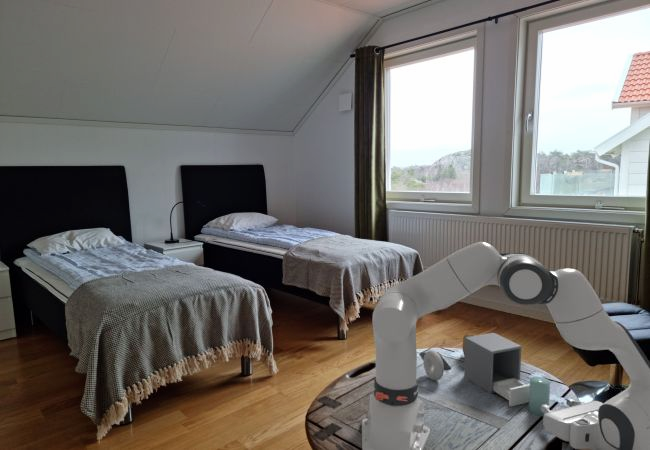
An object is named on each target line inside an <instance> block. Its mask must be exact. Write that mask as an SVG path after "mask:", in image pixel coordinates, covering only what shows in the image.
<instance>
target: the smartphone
mask: <svg viewBox="0 0 650 450" xmlns="http://www.w3.org/2000/svg"><path fill="white" fill-rule="evenodd" d="M426 352H427V351H425V352H424V351H423V352H419V355H420V357H421V358H422V361H423V360H424V356H425V354H426ZM436 352H437V353H438V354H439V355H440V357H441V358H442V361H443V365H444V371H447V370H451V369H452V367H451V365H450V364H449V363H448V362H447V361H446V360H445V359H444V357H443V356H442V355H441V354H440V353H439V351H436Z"/></svg>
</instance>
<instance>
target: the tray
mask: <svg viewBox="0 0 650 450" xmlns="http://www.w3.org/2000/svg"><path fill="white" fill-rule="evenodd" d="M529 389H530V383H528V384H526V383H524V382H523V381H522V380H520V381H519V380H517V379H516V378H510V379H506V380H501V381H496V382H492V390H494V391H495V393H496V394H498V395H499V396H501V397H503V398H504V399H506V400H507V401H508V406H509V407H515V406H519V405H522V404H527V403H528V404H529Z"/></svg>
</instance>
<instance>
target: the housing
mask: <svg viewBox="0 0 650 450" xmlns="http://www.w3.org/2000/svg"><path fill="white" fill-rule="evenodd" d="M476 335H477V336H471V337H465V356H464V370H463V371H464V375H463V376H464V377H465V378H466V379H468V380H469V381H471V382H473V383H474V384H475V385H476V386H478V387H480V388H481V389H483V390H484V391H485V392H487V393H489V394H494V393H496V392H495V391H494V390H492V382H496V381H501V380H506V379H510V378H516V379H517V380H519V381H521V368H522V367H521V366H522V364H521V363H522V345H520V344H518V343H516V342H515V341H514V342H513V341H512V340H510V339H507V338H506V337H503V335H502V336H501V335H500V334H497V333H495V332H490V333H489V332H488V333H484V334H476Z"/></svg>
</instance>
